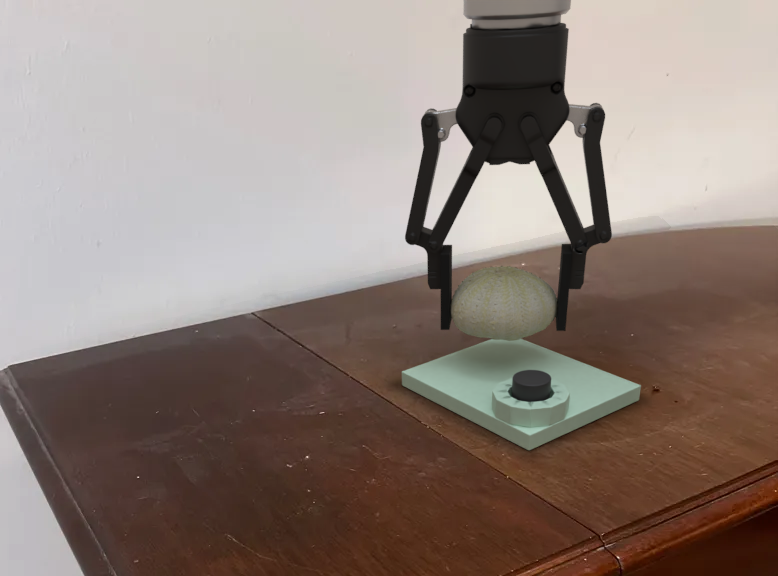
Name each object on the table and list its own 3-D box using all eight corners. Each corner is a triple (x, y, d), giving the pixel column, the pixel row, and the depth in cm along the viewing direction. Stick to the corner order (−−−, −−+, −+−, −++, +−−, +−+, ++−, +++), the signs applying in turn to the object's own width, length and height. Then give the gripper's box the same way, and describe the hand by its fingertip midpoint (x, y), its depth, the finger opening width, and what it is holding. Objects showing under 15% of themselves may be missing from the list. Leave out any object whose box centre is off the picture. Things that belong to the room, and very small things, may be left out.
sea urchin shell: (531, 279, 75) (558, 232, 67) (548, 359, 74) (577, 321, 66) (435, 290, 74) (451, 244, 66) (451, 371, 73) (469, 334, 65)
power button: (558, 395, 64) (559, 377, 63) (530, 407, 63) (532, 389, 62) (530, 384, 66) (531, 366, 65) (503, 395, 65) (504, 376, 64)
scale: (639, 400, 69) (644, 367, 67) (528, 451, 63) (531, 416, 61) (506, 346, 79) (508, 316, 78) (401, 385, 73) (400, 354, 72)
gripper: (356, 33, 57) (373, 339, 70) (683, 17, 53) (636, 342, 67) (373, 25, 63) (385, 308, 76) (668, 10, 59) (627, 310, 73)
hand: (502, 324), depth 71 cm, fingers closed on sea urchin shell, 9 cm apart
